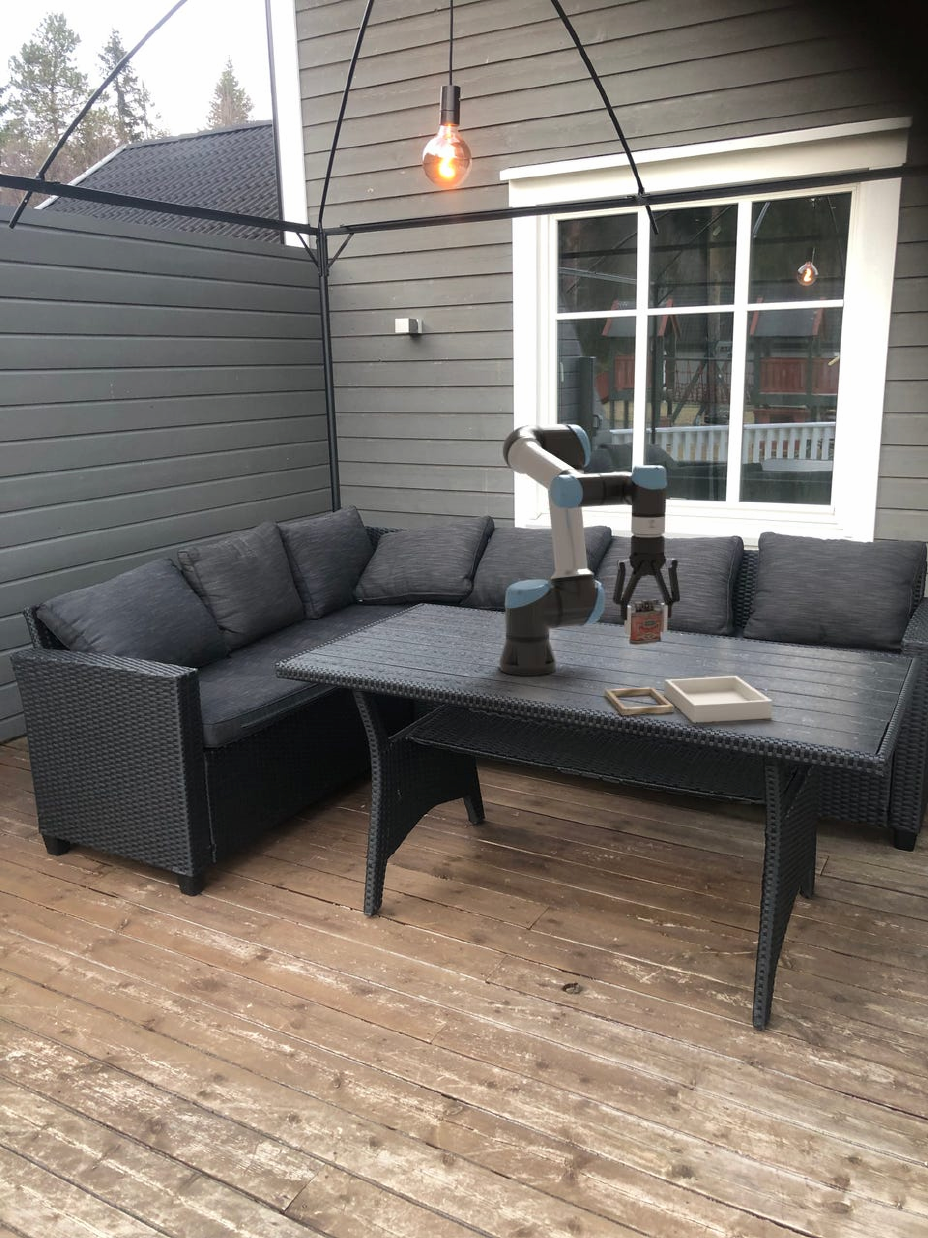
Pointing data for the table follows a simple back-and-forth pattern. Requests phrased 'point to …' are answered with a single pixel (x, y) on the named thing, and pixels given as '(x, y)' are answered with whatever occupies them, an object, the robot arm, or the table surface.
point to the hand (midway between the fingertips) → (645, 632)
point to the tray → (717, 699)
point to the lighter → (645, 623)
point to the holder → (664, 707)
